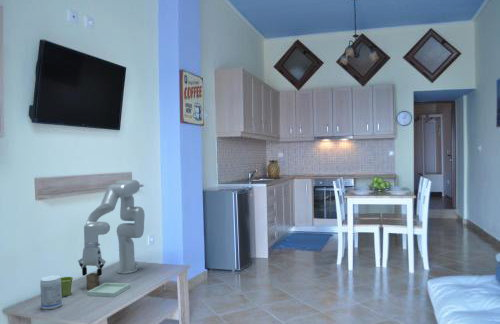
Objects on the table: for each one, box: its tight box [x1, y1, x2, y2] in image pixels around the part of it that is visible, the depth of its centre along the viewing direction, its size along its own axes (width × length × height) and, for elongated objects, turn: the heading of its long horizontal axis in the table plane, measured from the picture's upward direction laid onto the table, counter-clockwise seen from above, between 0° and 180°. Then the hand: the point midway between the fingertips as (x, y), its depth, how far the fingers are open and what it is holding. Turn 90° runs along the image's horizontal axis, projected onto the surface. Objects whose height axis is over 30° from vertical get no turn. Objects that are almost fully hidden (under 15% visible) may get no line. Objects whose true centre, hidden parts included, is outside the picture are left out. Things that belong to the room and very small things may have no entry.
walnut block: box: [85, 272, 101, 291], centre depth 237 cm, size 5×5×8 cm
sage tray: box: [86, 282, 131, 298], centre depth 230 cm, size 16×16×2 cm
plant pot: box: [61, 276, 74, 298], centre depth 227 cm, size 9×9×9 cm
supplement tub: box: [39, 274, 63, 310], centre depth 209 cm, size 10×10×15 cm
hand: (92, 275), depth 236 cm, fingers open, 9 cm apart
